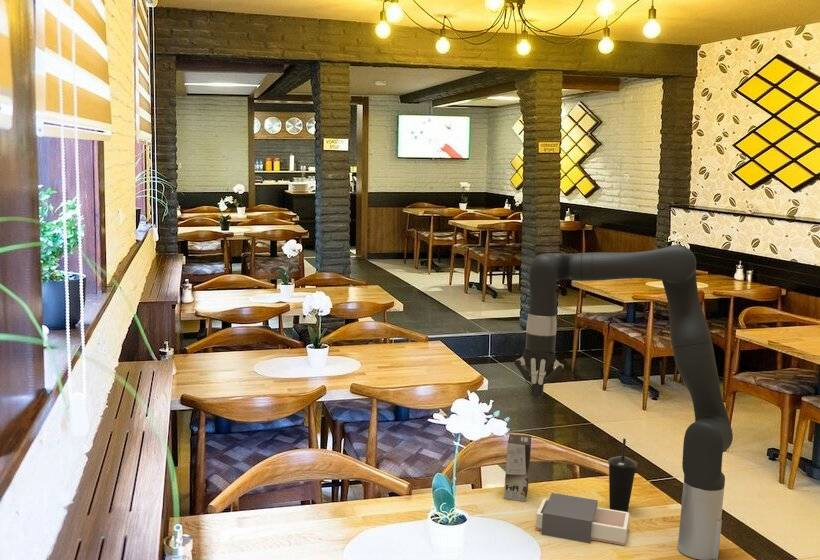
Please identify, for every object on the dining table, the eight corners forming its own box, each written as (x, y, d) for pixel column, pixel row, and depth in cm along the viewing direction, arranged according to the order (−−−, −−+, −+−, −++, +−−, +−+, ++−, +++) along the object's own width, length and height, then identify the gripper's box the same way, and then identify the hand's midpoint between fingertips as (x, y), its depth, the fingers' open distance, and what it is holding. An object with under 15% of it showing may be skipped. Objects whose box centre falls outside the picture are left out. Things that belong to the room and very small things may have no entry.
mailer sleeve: (596, 520, 213) (597, 500, 213) (590, 543, 200) (591, 521, 199) (550, 512, 217) (551, 492, 216) (541, 534, 203) (542, 512, 203)
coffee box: (526, 502, 224) (530, 445, 222) (503, 499, 225) (506, 442, 223) (528, 489, 233) (532, 435, 231) (506, 487, 234) (509, 432, 232)
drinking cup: (621, 518, 216) (627, 445, 213) (598, 508, 221) (604, 437, 219) (639, 511, 220) (645, 440, 218) (615, 502, 226) (621, 432, 224)
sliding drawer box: (628, 527, 209) (629, 512, 209) (625, 545, 199) (626, 529, 198) (542, 512, 216) (543, 498, 215) (535, 529, 206) (536, 513, 205)
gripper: (569, 332, 210) (564, 397, 212) (518, 326, 214) (514, 391, 216) (565, 336, 203) (560, 404, 205) (512, 331, 207) (508, 397, 209)
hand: (536, 397), depth 211 cm, fingers closed
